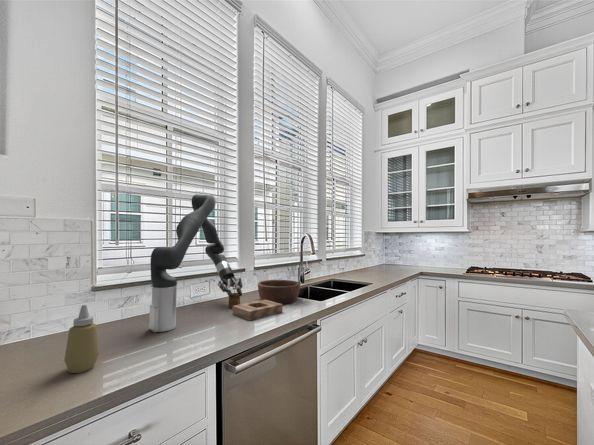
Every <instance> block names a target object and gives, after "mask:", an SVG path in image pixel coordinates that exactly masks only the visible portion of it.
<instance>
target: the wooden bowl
mask: <svg viewBox="0 0 594 445" xmlns="http://www.w3.org/2000/svg"><path fill="white" fill-rule="evenodd" d="M300 287H301V283H300V282H299V281H296V280H292V279H291V280H289V279H269V280H262V281H259V282H258V283H257V291H258V296H259V298H260V300H269V301H272V302H276V303H280V304H283V305H285V304H286V305H287V304H291V303H294V302H295V301H296V300H297V299H298V297H299V294H300V290H301V289H300Z"/></svg>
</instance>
